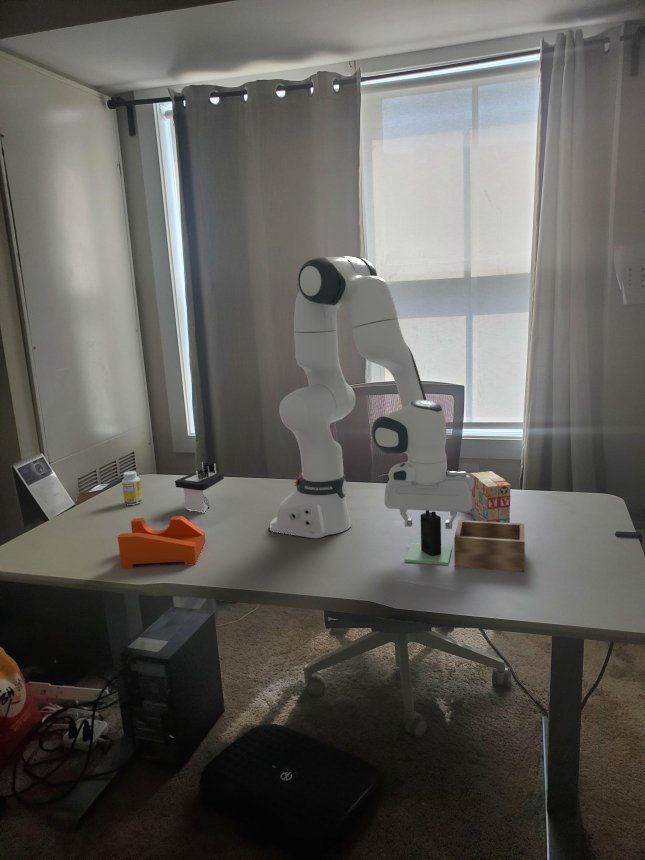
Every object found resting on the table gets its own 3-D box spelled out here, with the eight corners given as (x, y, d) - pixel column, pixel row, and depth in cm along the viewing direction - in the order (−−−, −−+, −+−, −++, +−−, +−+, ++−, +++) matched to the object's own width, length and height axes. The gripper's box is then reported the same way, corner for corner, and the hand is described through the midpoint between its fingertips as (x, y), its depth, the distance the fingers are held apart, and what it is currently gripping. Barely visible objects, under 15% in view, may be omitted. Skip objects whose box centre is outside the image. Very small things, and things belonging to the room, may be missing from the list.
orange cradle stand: (121, 569, 149) (117, 537, 147) (137, 548, 161) (133, 518, 160) (196, 565, 149) (192, 533, 147) (205, 545, 161) (202, 515, 159)
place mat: (404, 561, 144) (404, 559, 144) (411, 544, 153) (411, 542, 153) (448, 565, 141) (448, 562, 141) (452, 547, 150) (452, 545, 150)
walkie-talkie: (442, 553, 145) (441, 493, 142) (431, 557, 144) (429, 496, 141) (429, 547, 149) (428, 488, 146) (418, 550, 148) (417, 490, 145)
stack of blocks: (459, 504, 180) (458, 464, 177) (479, 502, 181) (479, 462, 178) (487, 531, 159) (487, 485, 156) (510, 529, 160) (510, 483, 157)
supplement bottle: (139, 499, 201) (135, 469, 199) (145, 503, 197) (141, 472, 195) (122, 503, 198) (118, 472, 196) (128, 507, 193) (124, 476, 191)
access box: (454, 566, 140) (454, 537, 138) (458, 547, 150) (458, 520, 148) (524, 571, 135) (524, 541, 134) (523, 551, 145) (524, 523, 144)
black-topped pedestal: (208, 530, 171) (203, 484, 169) (140, 518, 184) (135, 475, 182) (266, 499, 195) (263, 458, 192) (202, 490, 208) (198, 452, 205)
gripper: (474, 468, 142) (474, 524, 145) (387, 465, 148) (389, 520, 151) (472, 476, 136) (472, 534, 139) (381, 473, 142) (383, 529, 145)
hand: (428, 527), depth 145 cm, fingers open, 8 cm apart
